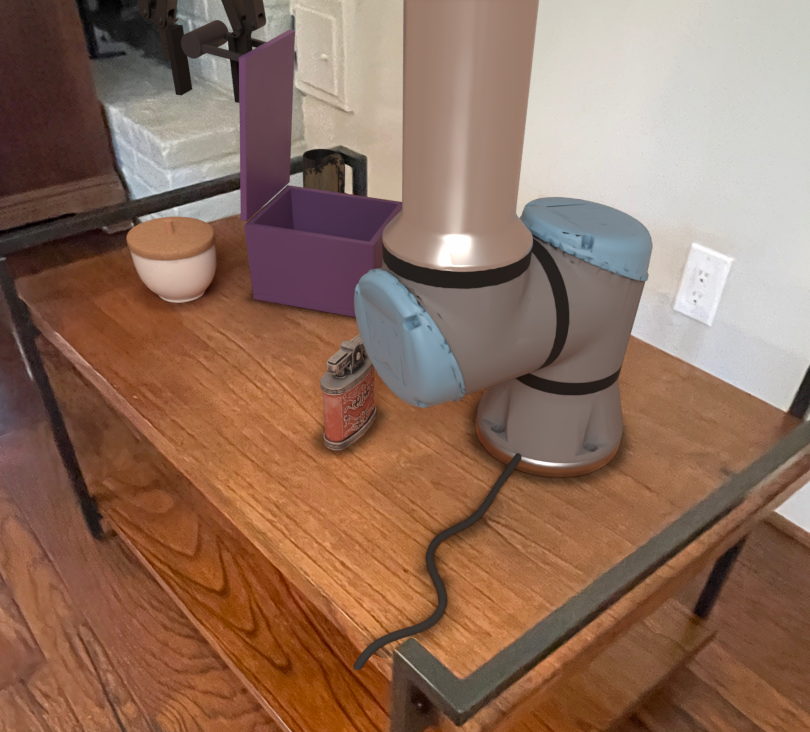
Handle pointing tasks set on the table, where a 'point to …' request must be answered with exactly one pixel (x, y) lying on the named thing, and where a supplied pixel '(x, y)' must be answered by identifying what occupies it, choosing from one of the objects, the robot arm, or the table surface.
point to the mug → (324, 170)
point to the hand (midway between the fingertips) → (213, 95)
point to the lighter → (348, 395)
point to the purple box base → (316, 247)
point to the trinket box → (174, 256)
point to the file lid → (257, 109)
